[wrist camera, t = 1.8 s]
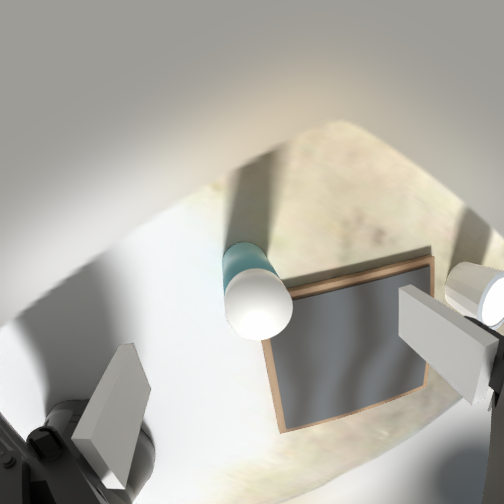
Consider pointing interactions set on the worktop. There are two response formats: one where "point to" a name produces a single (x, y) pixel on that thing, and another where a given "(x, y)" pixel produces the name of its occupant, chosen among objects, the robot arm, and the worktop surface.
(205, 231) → the worktop surface
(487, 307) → the white tapered cup
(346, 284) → the slate board
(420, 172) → the worktop surface
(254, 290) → the teal bottle
